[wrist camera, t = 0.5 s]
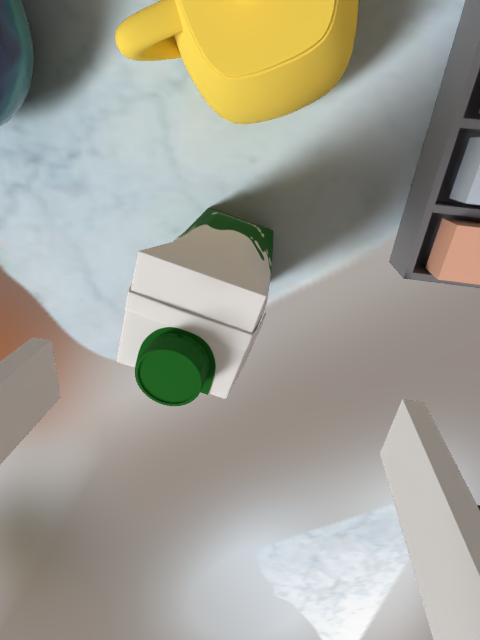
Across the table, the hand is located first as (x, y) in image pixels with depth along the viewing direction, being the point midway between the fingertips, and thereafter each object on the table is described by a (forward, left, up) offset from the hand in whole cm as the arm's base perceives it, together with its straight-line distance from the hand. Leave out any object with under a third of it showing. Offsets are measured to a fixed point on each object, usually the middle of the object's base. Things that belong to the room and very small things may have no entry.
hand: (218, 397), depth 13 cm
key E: (-2, +18, -22) cm, 28 cm away
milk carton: (+2, -3, -26) cm, 26 cm away
